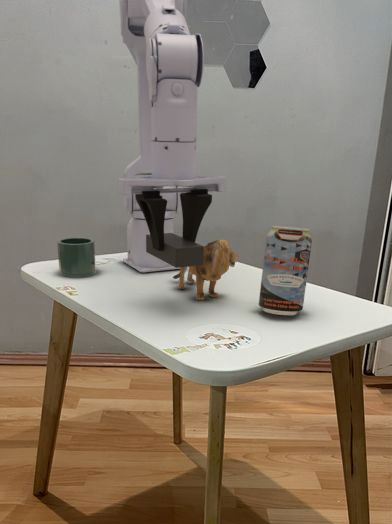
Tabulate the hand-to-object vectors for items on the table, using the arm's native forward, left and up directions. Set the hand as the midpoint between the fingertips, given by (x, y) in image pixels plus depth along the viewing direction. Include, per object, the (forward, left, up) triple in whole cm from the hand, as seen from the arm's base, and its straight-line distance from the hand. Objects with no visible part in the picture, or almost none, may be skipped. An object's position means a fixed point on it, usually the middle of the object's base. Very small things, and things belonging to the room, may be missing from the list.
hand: (173, 248), depth 77 cm
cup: (-24, -7, -8) cm, 26 cm away
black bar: (0, 0, -1) cm, 1 cm away
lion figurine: (-5, +7, -9) cm, 12 cm away
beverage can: (+8, +13, -9) cm, 17 cm away
